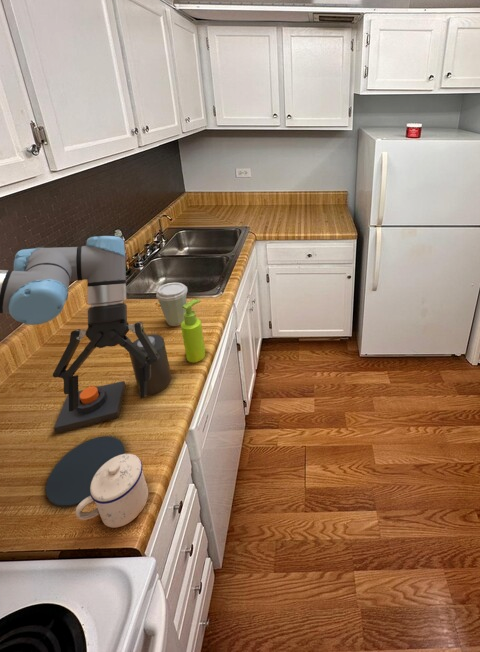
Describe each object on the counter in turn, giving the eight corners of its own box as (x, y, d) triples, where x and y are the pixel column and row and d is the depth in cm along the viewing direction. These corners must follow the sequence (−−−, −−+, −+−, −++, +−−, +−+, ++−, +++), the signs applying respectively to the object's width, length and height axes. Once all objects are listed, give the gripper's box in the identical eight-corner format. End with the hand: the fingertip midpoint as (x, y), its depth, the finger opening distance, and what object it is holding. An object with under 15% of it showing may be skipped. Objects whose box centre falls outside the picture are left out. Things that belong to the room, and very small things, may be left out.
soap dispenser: (211, 352, 110) (204, 301, 103) (194, 365, 105) (185, 312, 97) (200, 345, 113) (192, 295, 106) (182, 357, 108) (173, 305, 100)
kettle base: (55, 433, 83) (51, 422, 82) (70, 398, 93) (66, 388, 91) (118, 417, 87) (115, 406, 86) (126, 385, 97) (123, 375, 96)
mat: (34, 518, 66) (33, 516, 66) (60, 449, 79) (59, 447, 79) (118, 491, 71) (117, 490, 71) (130, 430, 84) (129, 428, 84)
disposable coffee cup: (178, 310, 132) (172, 277, 126) (198, 317, 127) (193, 283, 122) (155, 325, 123) (148, 290, 117) (176, 333, 119) (170, 298, 113)
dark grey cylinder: (136, 398, 93) (124, 356, 87) (141, 370, 102) (131, 330, 97) (170, 390, 96) (162, 348, 90) (172, 363, 105) (165, 324, 100)
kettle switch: (79, 406, 86) (77, 400, 86) (83, 394, 90) (81, 388, 89) (97, 402, 88) (95, 396, 87) (100, 390, 91) (98, 384, 90)
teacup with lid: (144, 471, 75) (133, 435, 70) (154, 507, 68) (144, 470, 64) (80, 509, 68) (65, 472, 63) (85, 554, 61) (68, 515, 57)
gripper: (169, 297, 82) (173, 386, 80) (51, 309, 75) (51, 407, 73) (164, 298, 75) (168, 396, 72) (33, 313, 68) (32, 421, 66)
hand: (109, 402), depth 73 cm, fingers open, 13 cm apart
